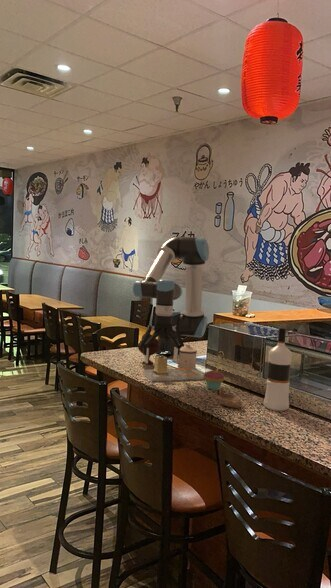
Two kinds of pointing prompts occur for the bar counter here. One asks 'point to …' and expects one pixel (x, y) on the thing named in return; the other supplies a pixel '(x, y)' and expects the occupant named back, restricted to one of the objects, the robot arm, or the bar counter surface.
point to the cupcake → (214, 378)
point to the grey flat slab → (174, 374)
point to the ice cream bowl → (150, 349)
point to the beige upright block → (160, 365)
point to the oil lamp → (228, 399)
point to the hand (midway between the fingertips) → (160, 362)
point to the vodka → (278, 375)
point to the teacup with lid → (187, 357)
